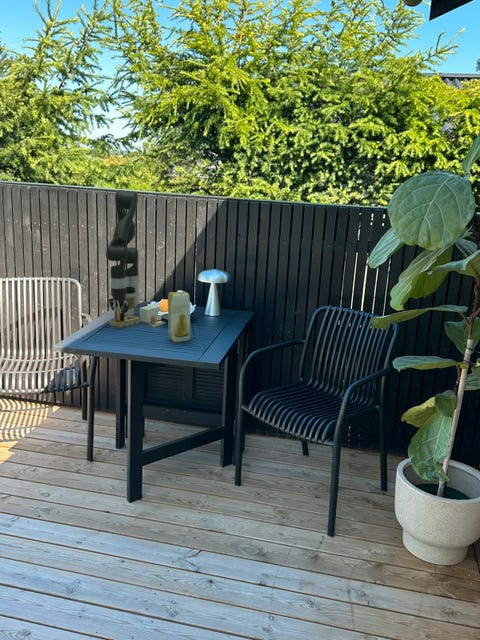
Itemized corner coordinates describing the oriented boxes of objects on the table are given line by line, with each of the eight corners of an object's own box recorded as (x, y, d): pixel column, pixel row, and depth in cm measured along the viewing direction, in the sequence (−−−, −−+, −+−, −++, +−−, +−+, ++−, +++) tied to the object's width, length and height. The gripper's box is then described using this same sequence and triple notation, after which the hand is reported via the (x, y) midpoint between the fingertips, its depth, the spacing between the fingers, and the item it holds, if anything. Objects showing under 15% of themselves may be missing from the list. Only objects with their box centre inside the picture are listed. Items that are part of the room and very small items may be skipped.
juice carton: (172, 343, 267) (172, 292, 261) (167, 338, 274) (166, 289, 267) (191, 341, 271) (191, 291, 265) (185, 336, 278) (185, 287, 271)
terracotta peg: (115, 322, 294) (115, 306, 292) (120, 320, 296) (119, 305, 294) (119, 323, 292) (118, 307, 290) (124, 321, 294) (123, 306, 292)
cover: (139, 320, 303) (139, 307, 302) (153, 317, 311) (153, 304, 309) (147, 322, 300) (147, 309, 298) (161, 319, 307) (161, 306, 305)
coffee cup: (118, 313, 318) (117, 286, 314) (134, 311, 322) (133, 285, 318) (122, 316, 311) (121, 289, 307) (138, 315, 314) (137, 288, 310)
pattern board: (148, 325, 295) (148, 315, 294) (160, 322, 301) (159, 312, 300) (154, 326, 293) (153, 317, 291) (165, 323, 299) (165, 314, 297)
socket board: (119, 328, 290) (119, 323, 289) (109, 325, 294) (109, 320, 294) (140, 322, 300) (140, 317, 299) (130, 319, 305) (130, 315, 304)
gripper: (133, 287, 288) (134, 320, 292) (115, 283, 296) (116, 315, 301) (121, 289, 282) (123, 323, 287) (103, 285, 291) (105, 318, 295)
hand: (119, 319), depth 294 cm, fingers open, 3 cm apart
